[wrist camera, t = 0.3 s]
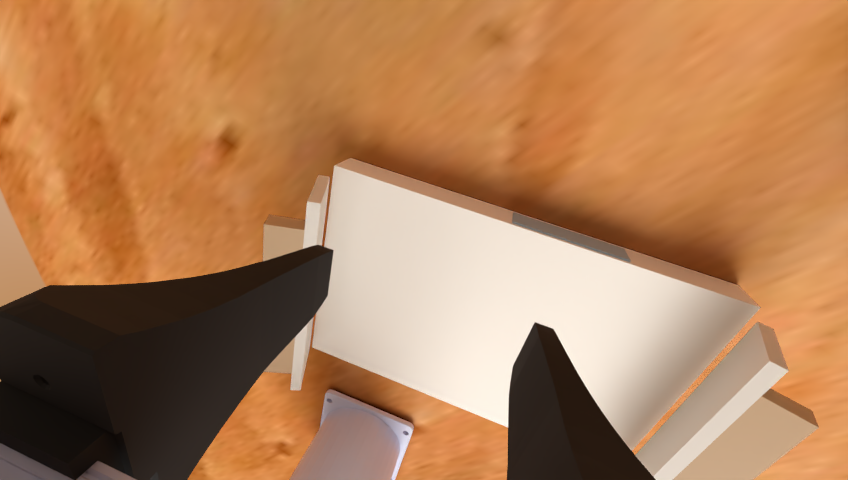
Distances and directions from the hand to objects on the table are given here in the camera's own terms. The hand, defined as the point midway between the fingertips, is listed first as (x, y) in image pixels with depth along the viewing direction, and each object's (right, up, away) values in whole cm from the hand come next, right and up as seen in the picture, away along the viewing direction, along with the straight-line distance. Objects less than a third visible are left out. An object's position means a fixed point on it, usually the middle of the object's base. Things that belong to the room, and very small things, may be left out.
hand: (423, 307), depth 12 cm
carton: (+4, -2, +11) cm, 12 cm away
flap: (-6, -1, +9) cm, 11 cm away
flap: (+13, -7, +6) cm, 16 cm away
